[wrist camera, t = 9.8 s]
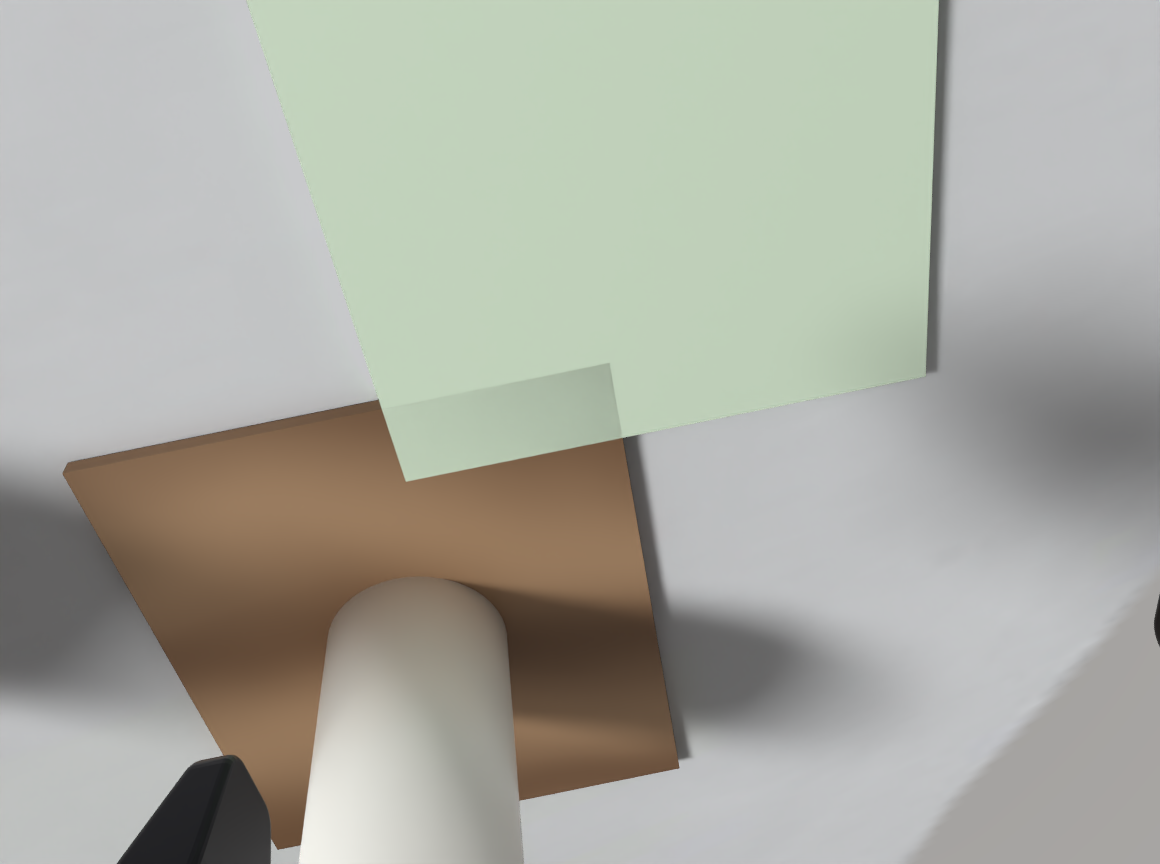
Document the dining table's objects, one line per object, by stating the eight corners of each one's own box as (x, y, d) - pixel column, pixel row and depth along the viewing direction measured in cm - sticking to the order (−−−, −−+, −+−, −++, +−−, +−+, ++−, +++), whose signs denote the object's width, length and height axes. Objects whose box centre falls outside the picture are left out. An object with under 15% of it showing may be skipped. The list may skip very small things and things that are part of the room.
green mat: (918, 367, 23) (925, 376, 23) (406, 471, 23) (405, 481, 23) (942, -412, 15) (953, -416, 15) (167, -257, 15) (161, -257, 15)
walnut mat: (676, 757, 30) (679, 768, 30) (279, 837, 30) (277, 849, 30) (607, 353, 22) (609, 362, 22) (67, 462, 22) (62, 473, 22)
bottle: (522, 684, 27) (563, 1143, 18) (357, 719, 27) (316, 1194, 18) (485, 560, 24) (510, 1022, 16) (302, 598, 24) (223, 1081, 16)
